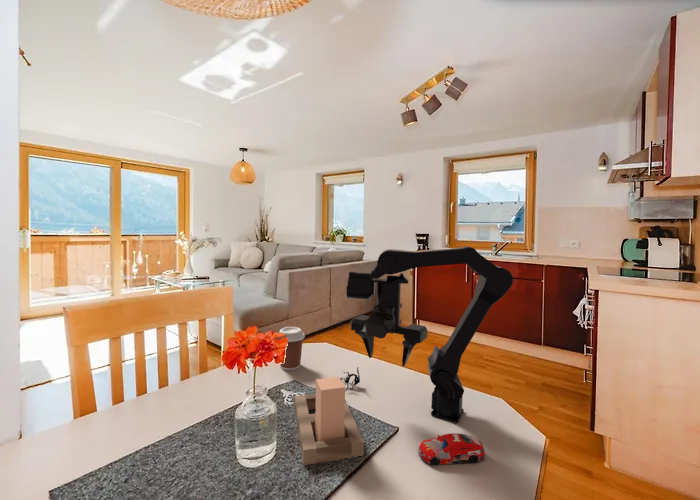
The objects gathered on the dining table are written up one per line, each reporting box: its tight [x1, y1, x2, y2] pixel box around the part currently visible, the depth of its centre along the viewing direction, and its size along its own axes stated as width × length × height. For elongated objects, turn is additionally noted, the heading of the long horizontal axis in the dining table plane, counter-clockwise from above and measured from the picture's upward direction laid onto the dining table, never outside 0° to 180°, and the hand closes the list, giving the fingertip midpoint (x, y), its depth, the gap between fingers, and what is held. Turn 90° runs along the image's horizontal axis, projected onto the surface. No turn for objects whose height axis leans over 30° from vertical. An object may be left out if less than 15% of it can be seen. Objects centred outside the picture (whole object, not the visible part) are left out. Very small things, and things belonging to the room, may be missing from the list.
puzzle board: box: [294, 393, 365, 466], centre depth 76 cm, size 21×12×3 cm, turn 14°
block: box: [314, 376, 346, 442], centre depth 71 cm, size 5×5×13 cm
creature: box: [339, 366, 361, 392], centre depth 96 cm, size 8×5×8 cm
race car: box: [418, 432, 486, 467], centre depth 68 cm, size 13×5×4 cm, turn 95°
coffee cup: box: [278, 326, 306, 371], centre depth 109 cm, size 9×9×12 cm
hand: (386, 361), depth 84 cm, fingers open, 9 cm apart
